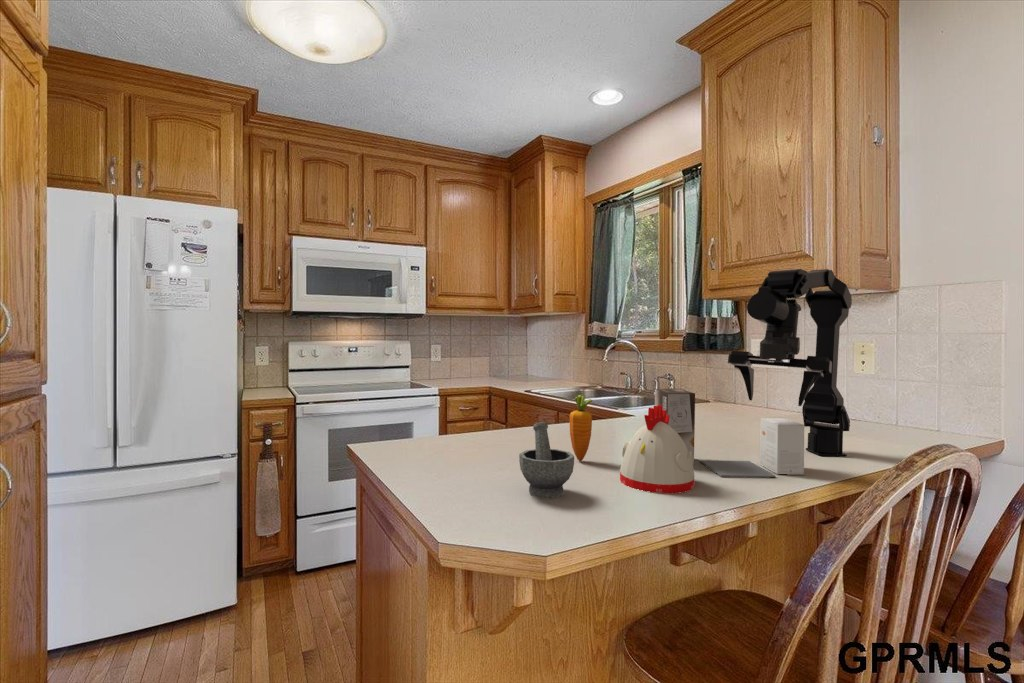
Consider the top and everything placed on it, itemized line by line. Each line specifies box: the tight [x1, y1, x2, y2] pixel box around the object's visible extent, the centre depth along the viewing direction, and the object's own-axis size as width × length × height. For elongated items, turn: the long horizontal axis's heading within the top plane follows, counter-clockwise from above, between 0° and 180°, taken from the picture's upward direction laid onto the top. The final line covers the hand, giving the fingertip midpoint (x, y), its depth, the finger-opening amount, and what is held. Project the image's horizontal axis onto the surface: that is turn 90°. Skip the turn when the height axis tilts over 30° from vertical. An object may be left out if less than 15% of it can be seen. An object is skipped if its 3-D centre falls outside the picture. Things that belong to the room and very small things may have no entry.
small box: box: [759, 417, 805, 476], centre depth 111 cm, size 8×6×10 cm
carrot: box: [569, 394, 593, 462], centre depth 116 cm, size 5×5×15 cm
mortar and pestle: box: [518, 421, 575, 499], centre depth 94 cm, size 11×9×12 cm
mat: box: [699, 459, 777, 478], centre depth 111 cm, size 11×12×1 cm
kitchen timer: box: [619, 405, 695, 494], centre depth 101 cm, size 14×14×15 cm
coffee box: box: [654, 388, 696, 467], centre depth 117 cm, size 9×6×16 cm
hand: (774, 403), depth 108 cm, fingers open, 9 cm apart
